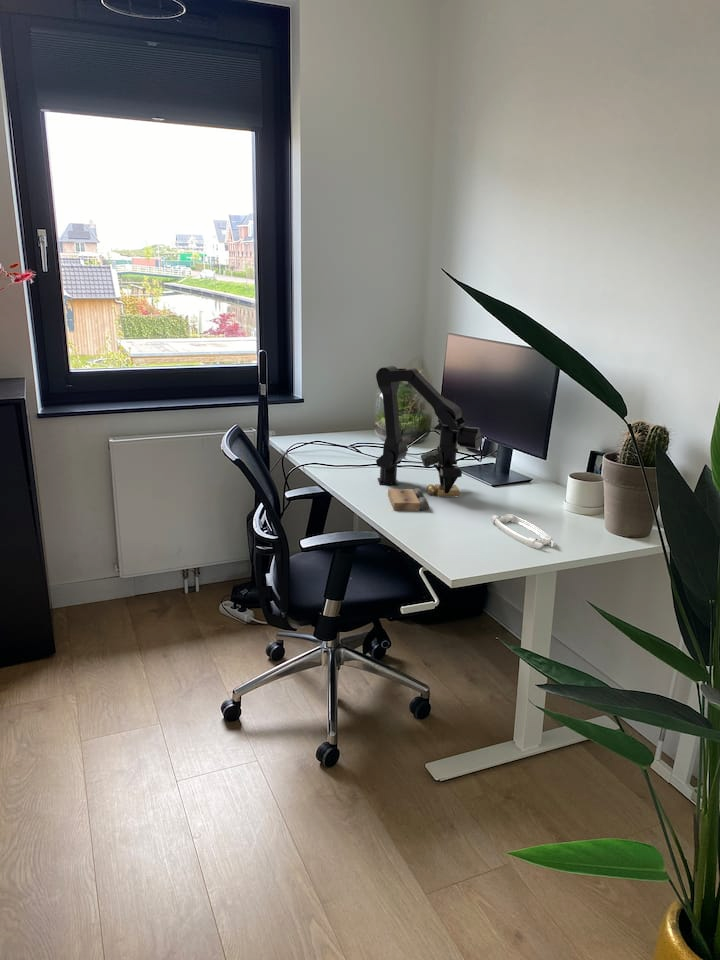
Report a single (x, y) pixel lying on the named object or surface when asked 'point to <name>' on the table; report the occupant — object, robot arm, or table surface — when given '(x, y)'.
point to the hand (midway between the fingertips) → (444, 490)
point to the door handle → (528, 541)
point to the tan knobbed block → (442, 490)
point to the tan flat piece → (407, 499)
